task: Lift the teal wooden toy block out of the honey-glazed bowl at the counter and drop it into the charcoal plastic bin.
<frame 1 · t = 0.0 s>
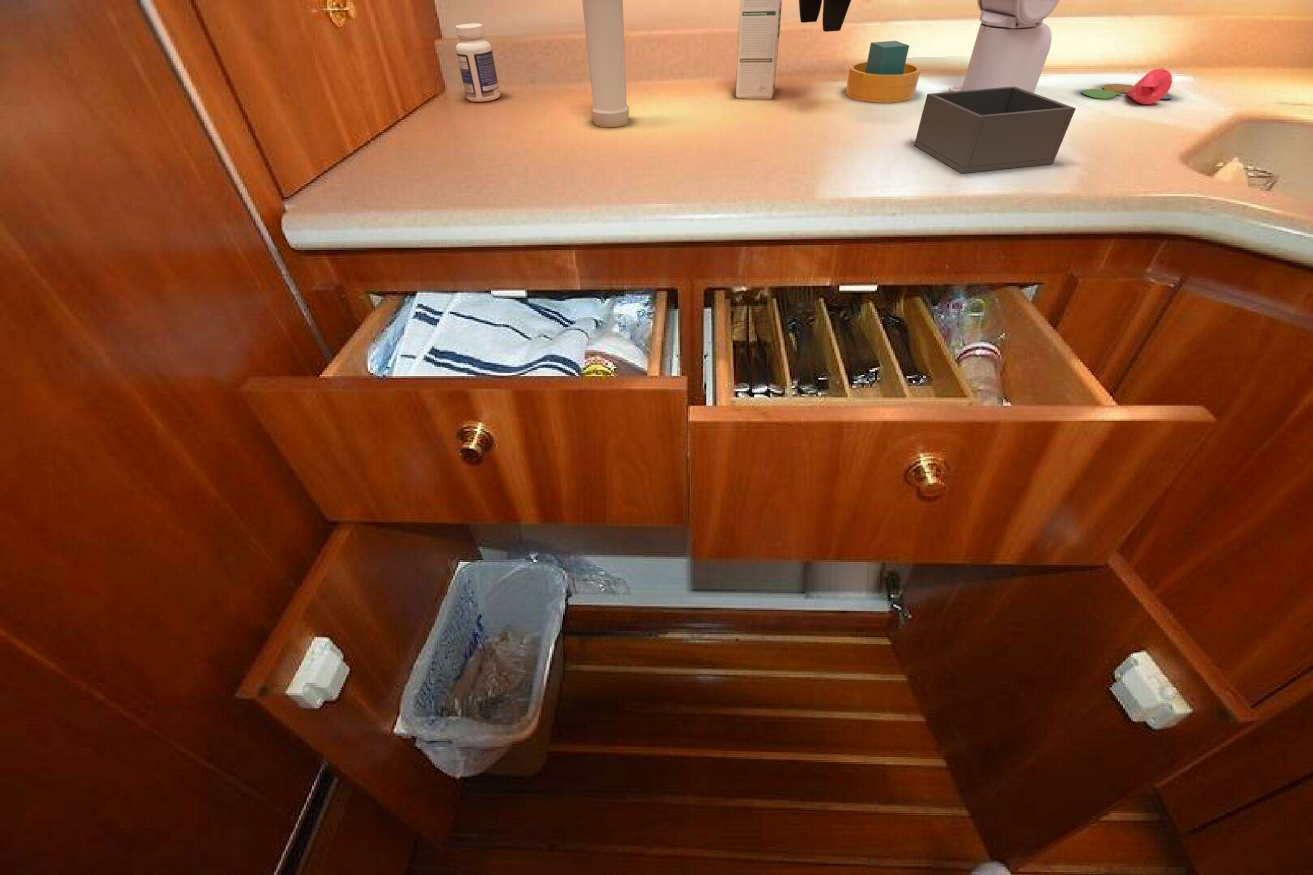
hand: (819, 26, 77), 10 cm above the worktop, tool pointing down, fingers open, 7 cm apart
pill bottle: (484, 99, 94), on the worktop
toy pieces: (1128, 97, 85), on the worktop
bowl: (879, 94, 90), on the worktop
bin: (980, 154, 68), on the worktop
bottle: (611, 124, 82), on the worktop
syrup box: (754, 95, 92), on the worktop
toy block: (884, 67, 87), in the bowl
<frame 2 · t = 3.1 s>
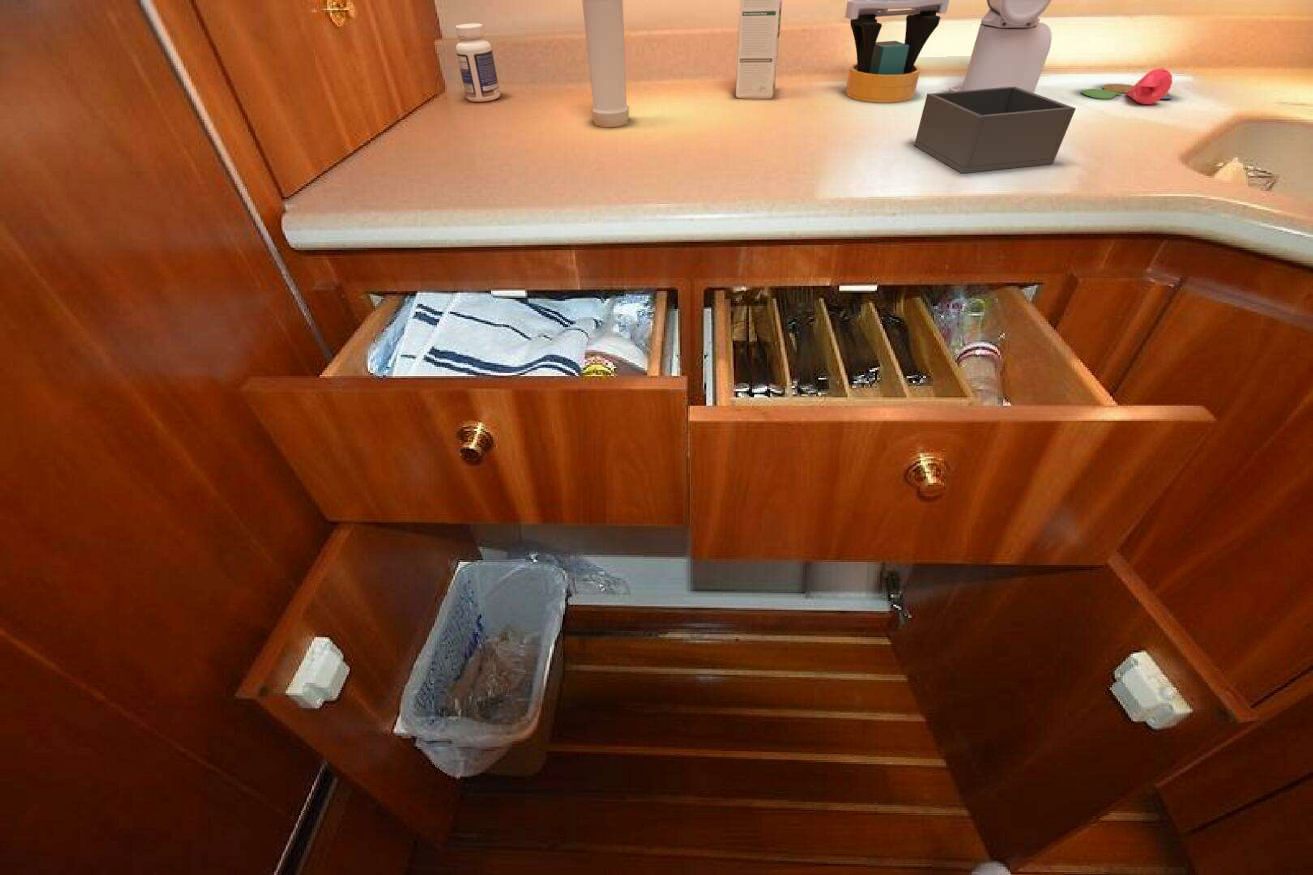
hand: (883, 74, 88), 3 cm above the worktop, tool pointing down, fingers open, 6 cm apart
nothing on the worktop moved.
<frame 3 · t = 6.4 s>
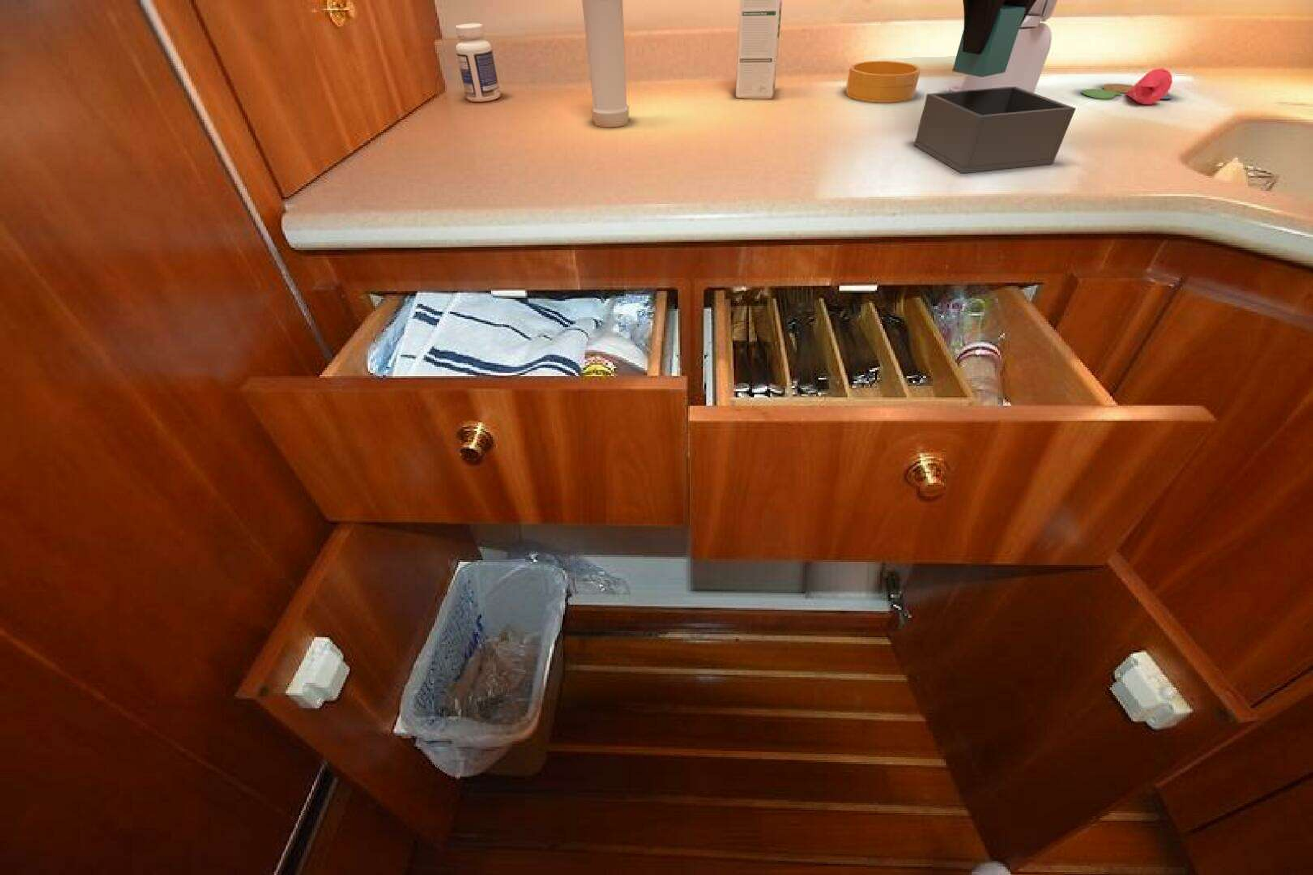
hand: (985, 50, 66), 9 cm above the worktop, tool pointing down, fingers closed on toy block, 4 cm apart
toy block: (987, 40, 65), point 10 cm above the worktop, touching gripper
everything else where it was.
when the fingers open (3 cm above the worktop, at t = 9.1 s): toy block stays where it is, resting on bin.
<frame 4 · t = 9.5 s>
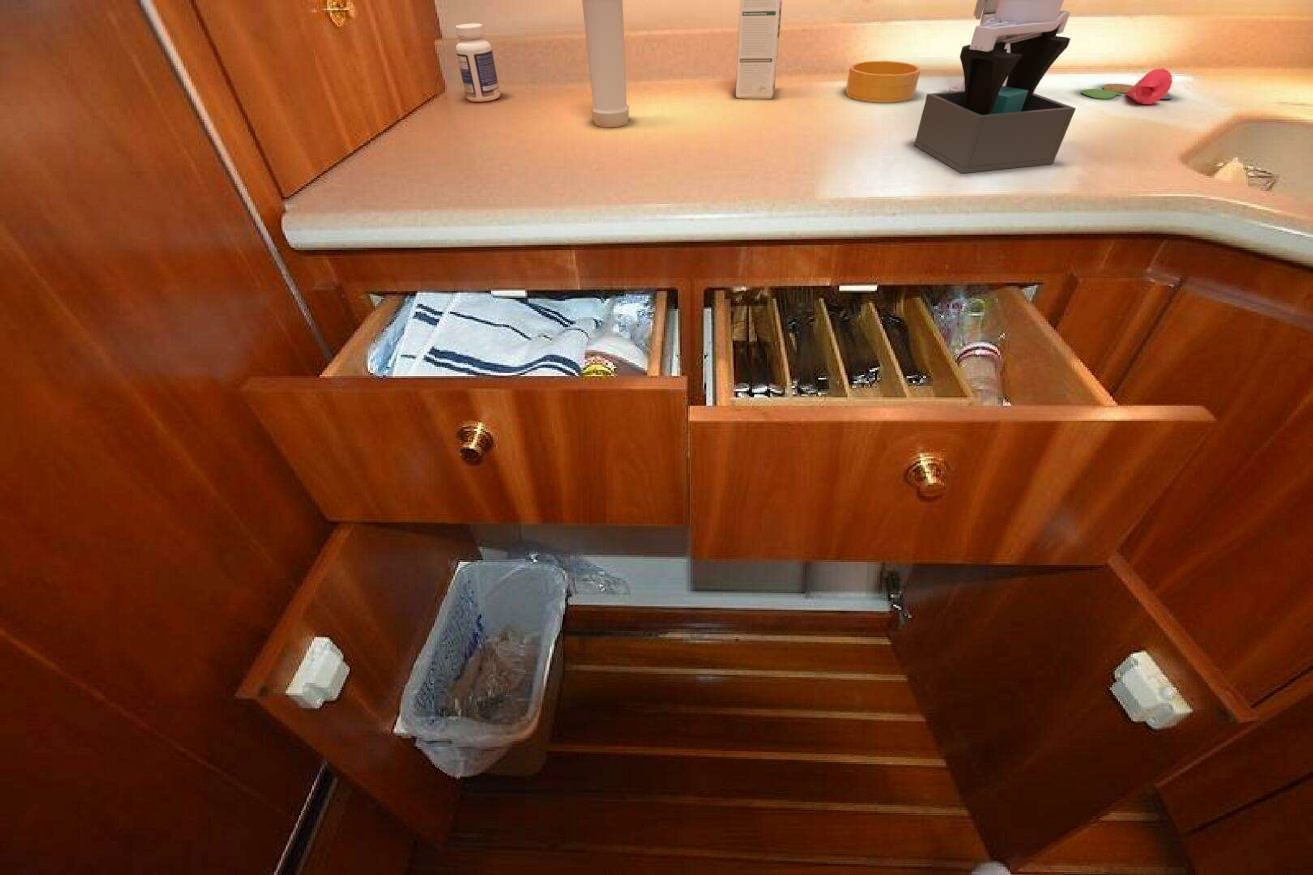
hand: (992, 117, 66), 4 cm above the worktop, tool pointing down, fingers open, 7 cm apart
toy block: (991, 120, 66), in the bin, point 4 cm above the worktop
everything else where it was.
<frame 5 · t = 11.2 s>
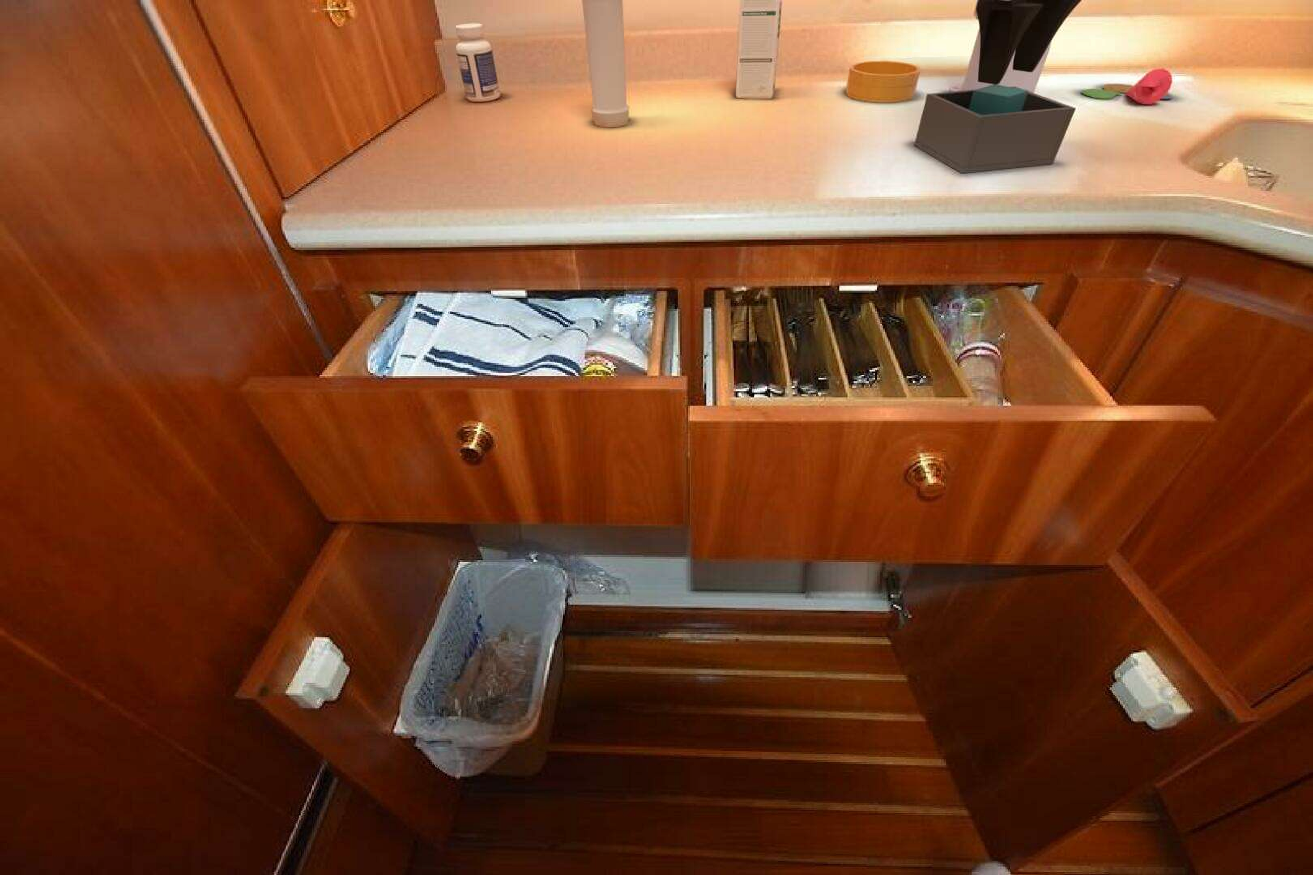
hand: (1006, 76, 63), 8 cm above the worktop, tool pointing down, fingers open, 7 cm apart
nothing on the worktop moved.
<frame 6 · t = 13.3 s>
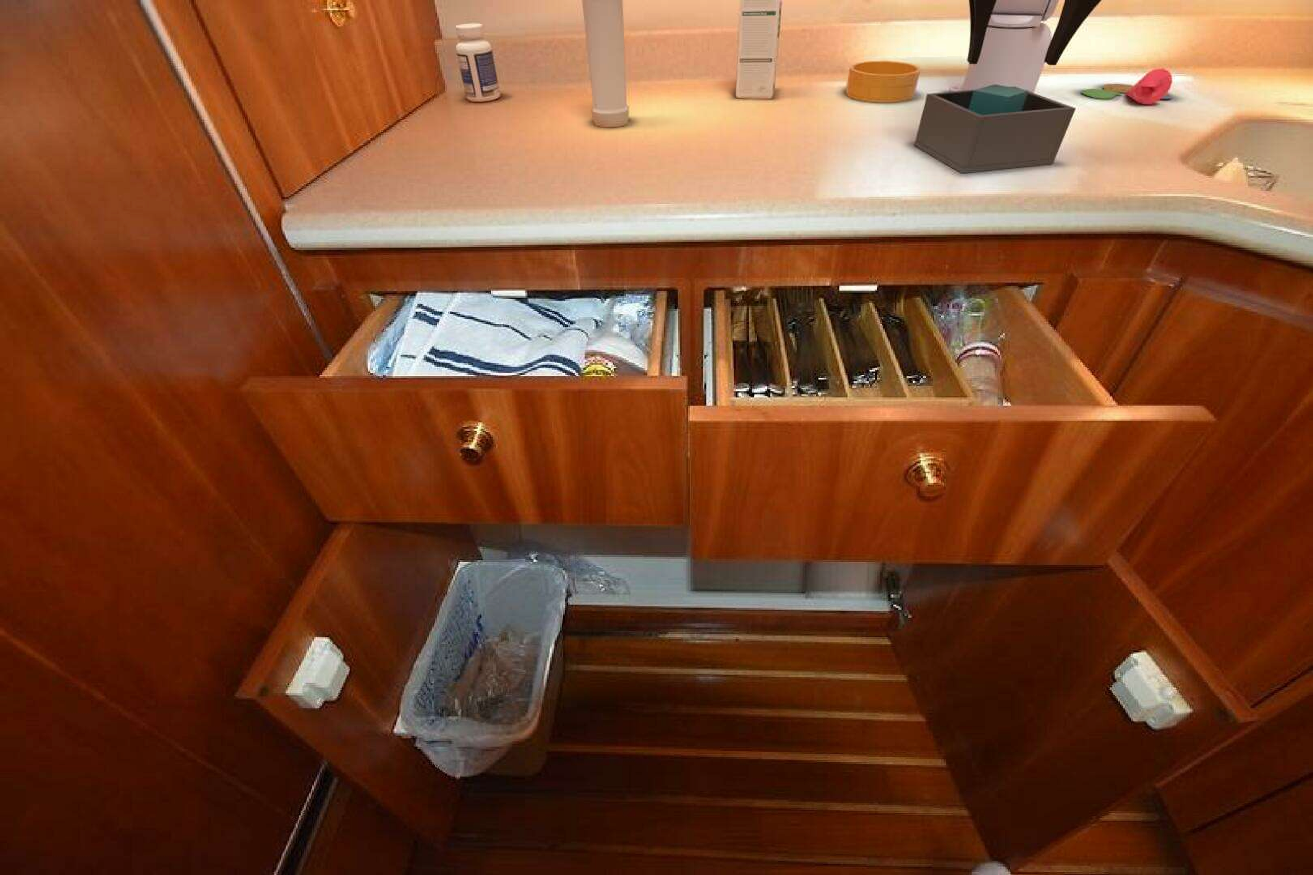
hand: (1010, 62, 62), 9 cm above the worktop, tool pointing down, fingers open, 7 cm apart
nothing on the worktop moved.
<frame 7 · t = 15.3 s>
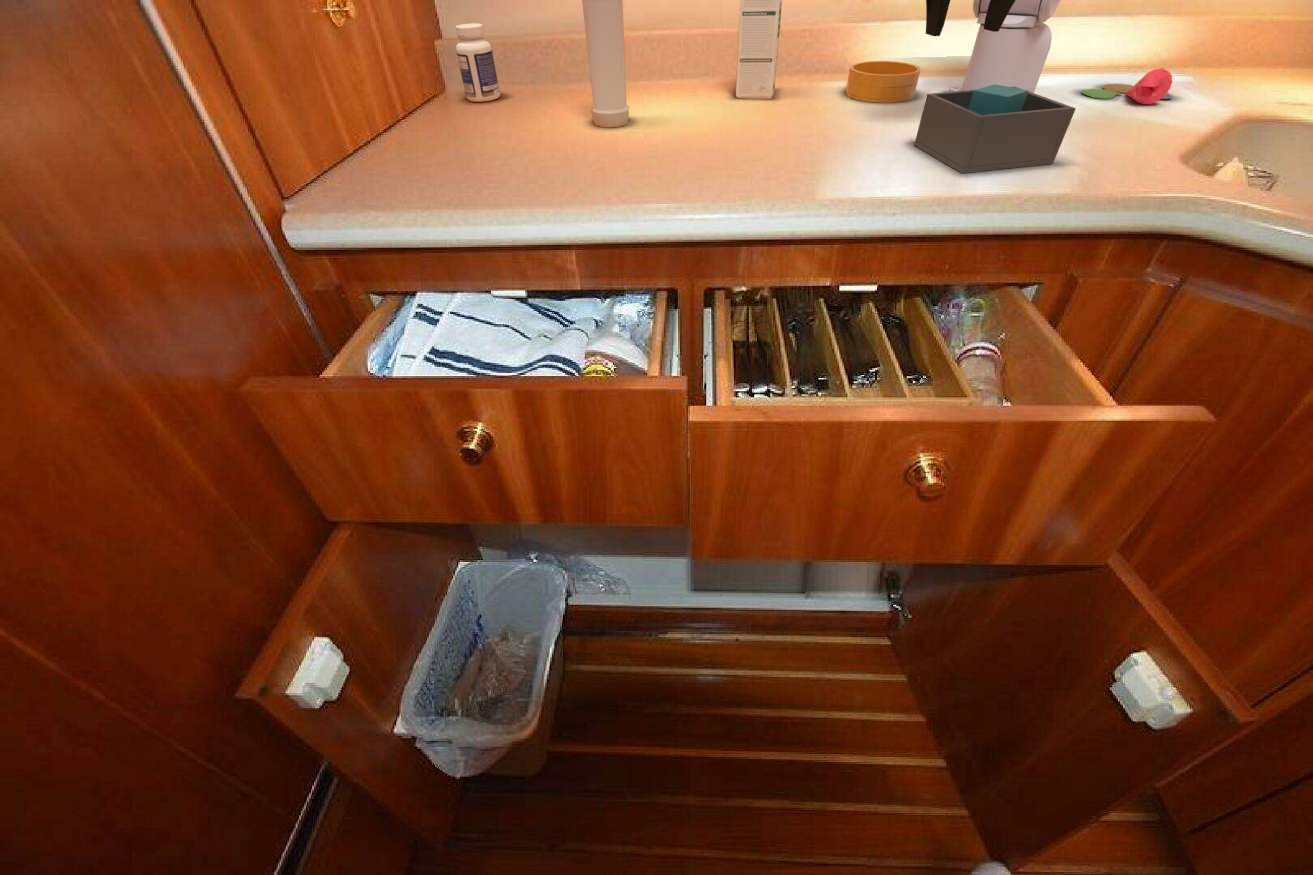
hand: (961, 32, 69), 10 cm above the worktop, tool pointing down, fingers open, 7 cm apart
nothing on the worktop moved.
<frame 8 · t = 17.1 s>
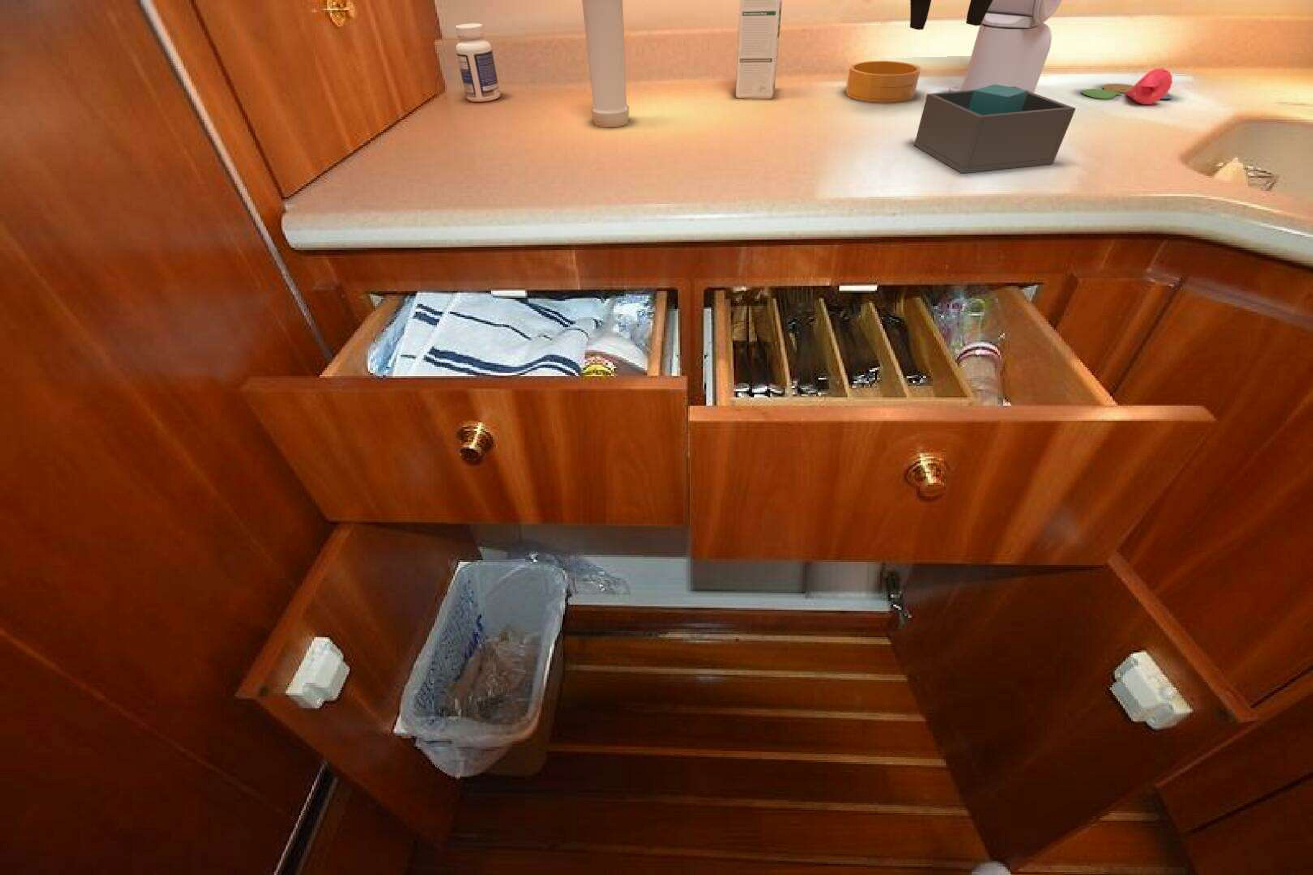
hand: (944, 26, 72), 10 cm above the worktop, tool pointing down, fingers open, 7 cm apart
nothing on the worktop moved.
at the end: toy block inside the target area in the bin (0.0 cm from its centre), point 3.6 cm above the bin's base; the gripper is holding nothing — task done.
